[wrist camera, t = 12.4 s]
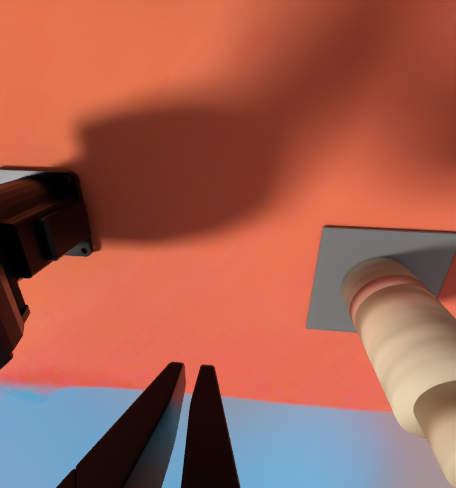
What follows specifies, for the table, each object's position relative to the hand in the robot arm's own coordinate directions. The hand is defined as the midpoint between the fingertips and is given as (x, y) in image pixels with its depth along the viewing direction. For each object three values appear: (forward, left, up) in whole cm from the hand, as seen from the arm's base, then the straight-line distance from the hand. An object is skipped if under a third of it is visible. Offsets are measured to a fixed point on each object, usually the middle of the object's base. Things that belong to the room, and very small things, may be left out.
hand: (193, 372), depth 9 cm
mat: (+11, -5, -13) cm, 18 cm away
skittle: (+11, -5, -13) cm, 17 cm away
